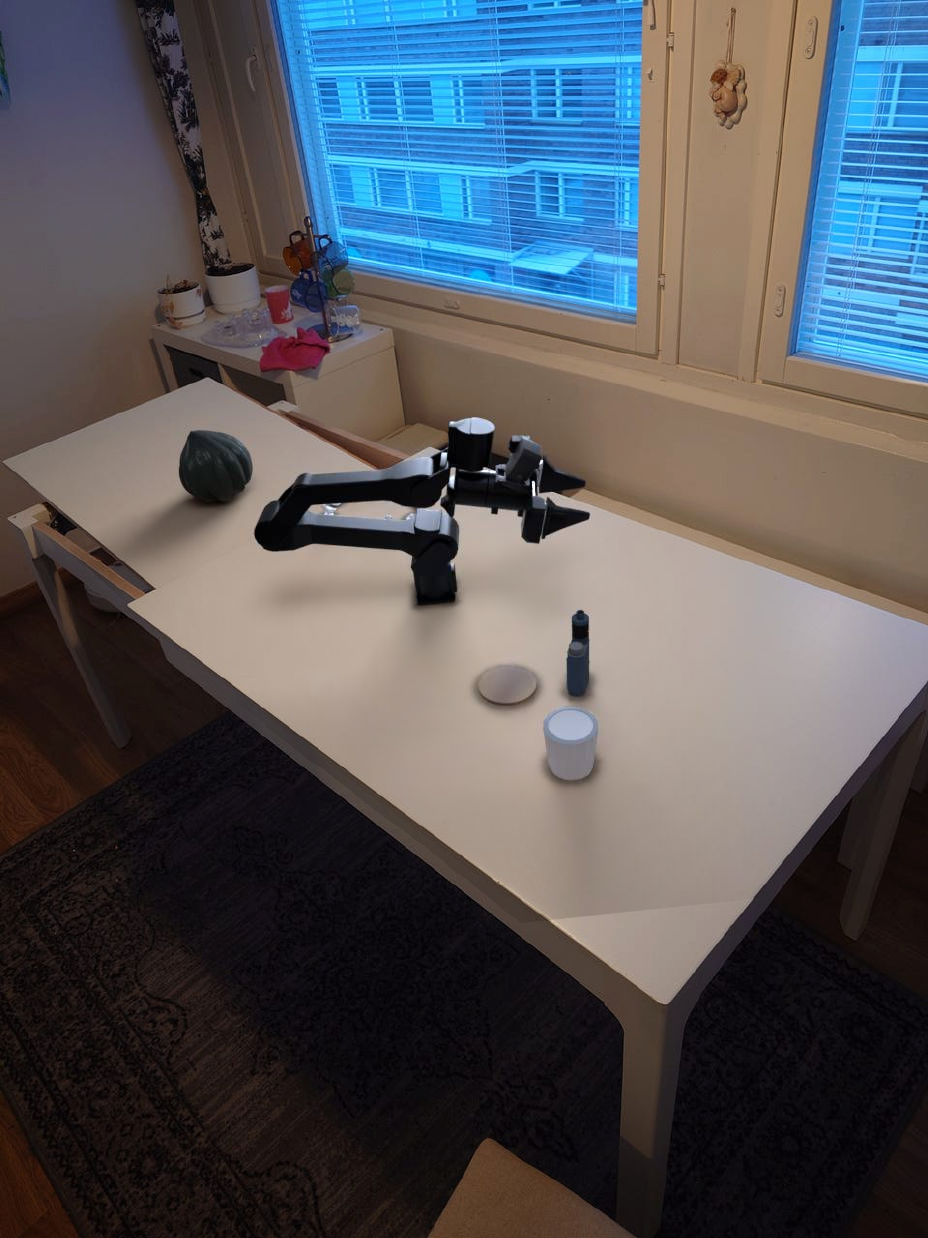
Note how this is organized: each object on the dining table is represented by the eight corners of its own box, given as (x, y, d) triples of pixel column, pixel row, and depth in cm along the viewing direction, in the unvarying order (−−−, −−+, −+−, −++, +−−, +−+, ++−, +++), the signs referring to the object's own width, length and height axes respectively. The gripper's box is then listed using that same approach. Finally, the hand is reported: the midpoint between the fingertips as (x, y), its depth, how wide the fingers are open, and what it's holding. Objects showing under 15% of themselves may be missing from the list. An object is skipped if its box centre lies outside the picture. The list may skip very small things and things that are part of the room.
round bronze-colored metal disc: (480, 708, 122) (480, 706, 122) (476, 670, 129) (476, 668, 129) (540, 702, 122) (540, 700, 122) (532, 664, 129) (532, 662, 129)
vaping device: (591, 675, 126) (591, 608, 119) (583, 699, 122) (583, 630, 115) (573, 673, 127) (573, 605, 120) (565, 696, 123) (563, 628, 116)
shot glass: (540, 748, 115) (538, 709, 111) (592, 742, 115) (592, 702, 111) (548, 787, 109) (547, 747, 105) (603, 780, 109) (604, 740, 105)
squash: (276, 462, 179) (226, 404, 177) (225, 497, 170) (172, 436, 168) (250, 492, 190) (203, 438, 188) (201, 527, 181) (151, 470, 178)
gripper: (492, 475, 122) (603, 486, 122) (493, 413, 136) (592, 423, 137) (483, 540, 129) (588, 551, 130) (485, 474, 143) (579, 484, 144)
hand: (587, 499), depth 135 cm, fingers open, 9 cm apart
